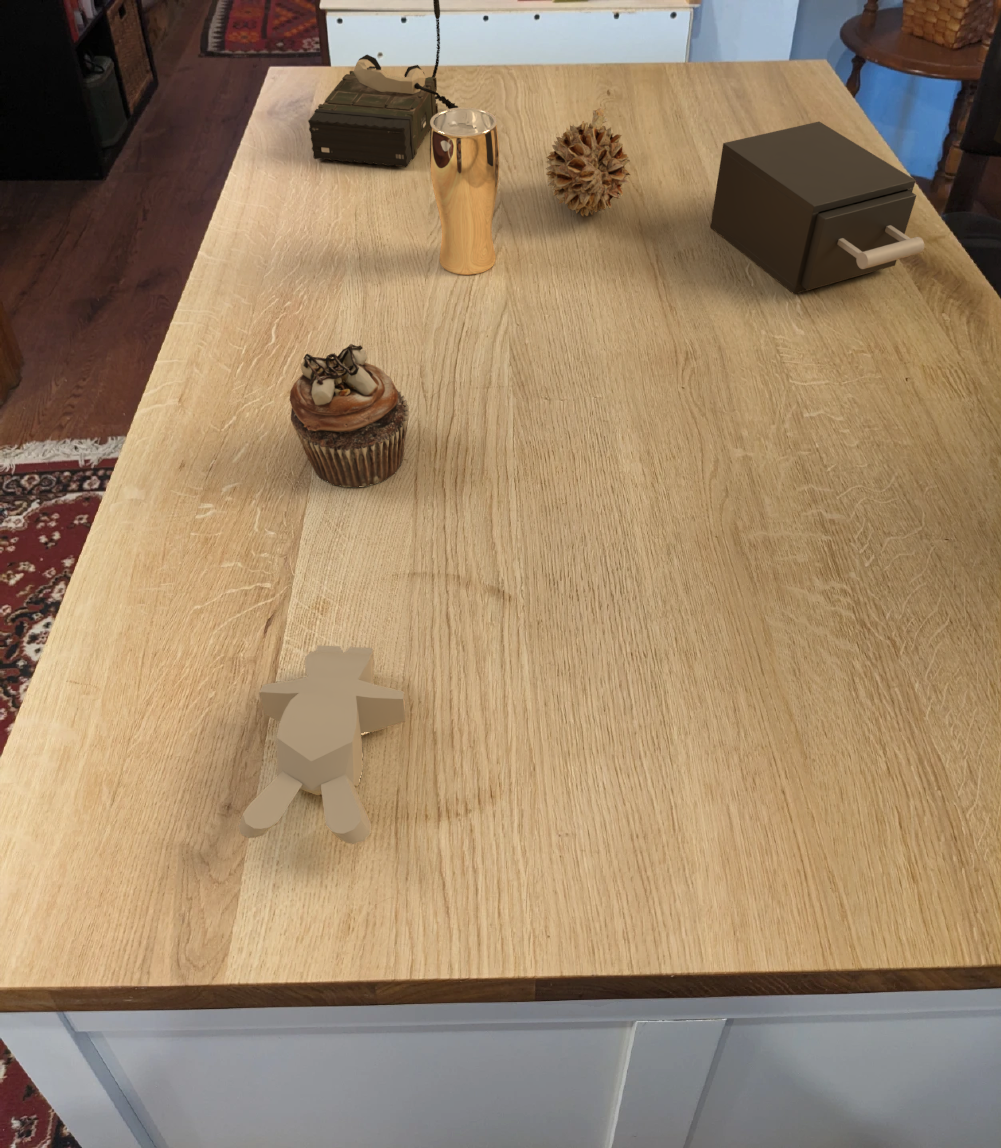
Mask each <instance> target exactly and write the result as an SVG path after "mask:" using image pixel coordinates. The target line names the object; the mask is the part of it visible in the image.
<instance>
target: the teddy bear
mask: <svg viewBox="0 0 1001 1148" xmlns="http://www.w3.org/2000/svg"><path fill="white" fill-rule="evenodd" d="M316 645H317V646H316V648H315V650H313V651H309V652H308V653H307V654H306V655H305V656H304V657H305V658H304V668H305V674H306V677H301V678H295V679H290V680H285V681H283V680H282V681H278V682H272V683H265V684H262V686H261V688H260V690H259V692H258V693H259V697H260V698H259V699H260V703H261V707H262V711H263V715H264V716H266V717H269V718H271V719H273V720H275V721H277V722H279V724H278V728H277V733H276V777H275V778H274V779H273V780H272V781H271V782H270V783H268V785H267V786H266V787H265V788H264V789H263V790H262V791H261V792H260V793H259V794H258V795H257V796H256V797H254V799H253V800H252V801H251V802H250V803H249V804H248V805H247V807H246V808H245V810H244V811H243V813H242V815H241V817H240V820H239V823H238V824H237V827H238V831H239V834H240V835H241V836H243V837H245V838H247V839H254V838H255V839H256V838H259V837H262V836H264V835H266V833H267V832H269V831H270V830H271V829H272V828H273V827H274V826H275V825H276V824H277V823H279V821H280V820H281V818H282V817H283V815H284V814H285V812H286V811H287V809H288V807H289V806H290V804H291V803H292V802H293V800H294V798H295V797H296V795H297V794H298V792H299V790H302V791H304V792H307V793H310V794H313V795H314V796H320V795H321V799H322V808H323V814H324V815H323V816H324V822H325V823H324V824H325V826H326V827H327V828H328V829H329V831H331V833H333V835H335V836H336V838H338V839H339V840H340V841H342V842H344V843H345V844H346V843H347V844H351V845H356V844H359V843H363V842H365V841H366V840H367V839H368V838H369V836H370V835H371V834H372V822H371V820H370V818H369V816H368V813H367V811H366V808H365V806H364V805H363V802H362V800H361V798H360V795H359V793H358V790H357V788H358V784H359V779H360V776H361V772H362V747H363V739H362V736H361V733H364V732H372V733H374V731H375V732H378V731H381V730H384V729H388V728H390V727H393V726H397V725H399V724H402V723H405V722H406V712H407V711H406V702H405V701H406V700H405V691H403V690H400V689H395V688H391V687H388V686H383V685H379V684H376V683H374V684H373V679H374V680H375V676H374V675H375V674H374V673H375V671H374V670H375V669H374V668H375V655H374V648H373V647H366V646H365V647H364V646H363V647H362V646H349V647H348V648H347V649H346V650H344V651H343V649H342V647H341V646H340V645H322V644H316ZM362 773H363V772H362ZM359 785H360V784H359Z"/></svg>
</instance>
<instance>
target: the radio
mask: <svg viewBox="0 0 1001 1148" xmlns="http://www.w3.org/2000/svg"><path fill="white" fill-rule="evenodd" d="M432 3H433V13H434V14H433V15H434V17H435V23H436V25H435V26H436V27H435V29H436V55H435V56H436V57H435V64H434V67H433V70H432V71H433V72H432V75H431V76H427V77H426V75H425V71H424V70H423V69H422V68H421V67H420V65H419V64H416V65H411V66H408V67H407V69H406V70H405V73H404V74H403V76H398V75H392V74H388V73H386V72H385V70H384V69H382V67H381V65H380V63H379V62H378V60H377V58H376V57H373V56H372V55H369V54H365V55H363V56H362V57H360V58H359V59H358V60H357V61H356V64H355V66H354V69H353V70H349V73H346V74H345V75H344V76H343V77H342V78H341V80H340V81H339V82H338V83H337V85H336V86H335V87H334V89H333V90H332V91H331V92H330V93H329V94H328V96H327V97H326V98H325V99H324V102H323V103H319V104H318V105H317V108H316V109H315V110H314V111H313V114H312V115H311V116H310V118H309V119H308V120H307V123H308V124H309V128H308V130H309V132H310V140H311V145H312V147H311V150H312V152H313V154H312V155H313V157H312V158H313V159H314V160H322V161H324V160H330V161H332V162H333V161H335V160H336V161H339V162H341V163H342V162H349V163H352V162H353V163H358V164H362V163H365V164H368V165H373V164H375V165H377V166H381V165H385V166H387V167H390V166H395V167H396V168H397V167H398V168H399V167H403V168H408V167H409V165H410V163H411V161H412V160H414V158H415V157H416V155H417V153H418V151H417V150H418V149H419V148H420V146H421V144H422V143H423V141H424V140H425V137H426V136H427V135H428V133H429V132H430V120H431V118H432V117H433V116H434V115H435V114H437V113H439V106H438V105H439V104H438V102H437V100H438V101H439V102H441V103H442V105H445V107H446V108H447V109H452V108H459V106H458V105H456V103H454V102H452V101H451V100H450V99H449V98H448V99H447V98H446V96H445V95H440V93H439V92H437V91H438V90H437V88H438V85H437V84H438V83H437V82H438V81H437V77H436V76H437V74H438V73H437V72H438V67H439V65H440V53H441V51H440V50H441V34H440V33H441V27H440V18H441V8H440V7H441V6H440V5H441V4H440V0H433V2H432Z"/></svg>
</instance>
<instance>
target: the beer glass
mask: <svg viewBox="0 0 1001 1148" xmlns="http://www.w3.org/2000/svg"><path fill="white" fill-rule="evenodd" d="M429 167H430V177H431V184H432V190H433V193H434V198H435V203H436V206H437V211H438V216H439V221H440V226H441V242H440V243H441V244H440V248H439V258H438V259H439V264H440V265H441V267H442V268H443V269H444V270H446V271H447V272H450V273H453V274H455V275H463V276H464V275H465V276H470V275H472V276H473V275H478V274H482V273H484V272H487V271H488V270H490V269H491V268H492V267H493V266H494V265H495V264H496V260H497V259H496V258H497V257H496V252H495V247H494V242H493V232H492V230H493V229H492V228H493V217H494V211H495V206H496V199H497V194H498V187H499V179H500V147H499V135H498V120H497V117H496V116H495V115H494V114H493V113H491V112H490V111H487V110H485V109H481V108H477V107H463V106H462V107H458V108H452V109H448V108H447V109H445V110H441V111H438V113H437V114H435V115H434V116H433V117H432V118H431V120H430V130H429Z"/></svg>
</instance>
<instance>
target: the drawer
mask: <svg viewBox="0 0 1001 1148" xmlns="http://www.w3.org/2000/svg"><path fill="white" fill-rule="evenodd" d="M916 198H917V194H916V193H914V192H913V191H912V192H911V191H909V190H908V191H904V192H900V193H896V194H893V195H892V193H891V194H887V195H883V196H879V197H875V198H871V199H868V200H864V201H860V202H856V203H853V204H854V205H850V206H846V207H842V208H838V209H835V210H831V211H827V212H823V213H819V212H818V214H817V217H816V221H815V226H814V230H813V234H812V238H811V243H810V247H809V251H808V255H807V260H806V264H805V268H804V272H803V276H802V281H801V286H802V287H804V288H805V289H806V290H805V291H811V290H813V289H817V288H821V287H824V286H827V285H832V284H835V283H838V282H841V281H845V280H849V279H852V278H856V277H860V276H863V275H866V274H870V273H873V272H876V271H881V270H884V269H887V268H891V267H894V266H896V264H897V260H901V259H904V258H908V257H912V256H915V255H918V254H921V253H922V252H923V251H924V250H925V242H924V239H923V238H922V237H920V236H916V237H915V236H914V237H912V238H911V237H909V236H908V235H907V234H906V232H907V229H908V228H907V227H908V224H909V221H910V218H911V214H912V212H913V208H914V205H915V201H916Z"/></svg>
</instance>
